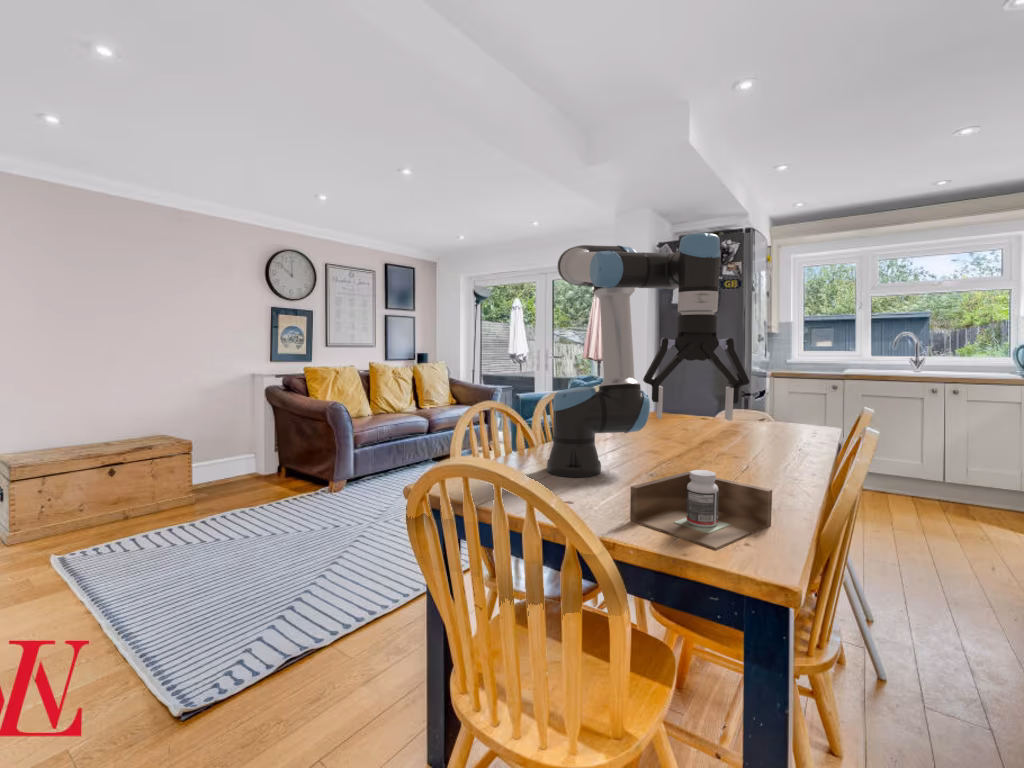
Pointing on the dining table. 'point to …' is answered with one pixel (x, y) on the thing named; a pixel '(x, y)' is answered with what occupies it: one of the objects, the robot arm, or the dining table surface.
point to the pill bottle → (702, 499)
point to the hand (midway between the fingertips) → (693, 418)
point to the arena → (667, 510)
